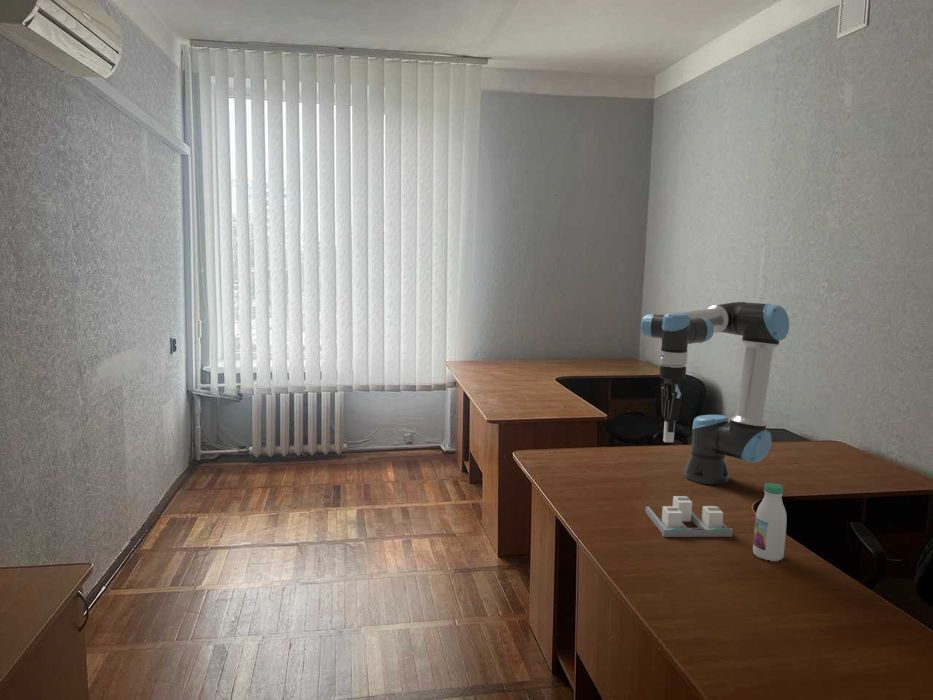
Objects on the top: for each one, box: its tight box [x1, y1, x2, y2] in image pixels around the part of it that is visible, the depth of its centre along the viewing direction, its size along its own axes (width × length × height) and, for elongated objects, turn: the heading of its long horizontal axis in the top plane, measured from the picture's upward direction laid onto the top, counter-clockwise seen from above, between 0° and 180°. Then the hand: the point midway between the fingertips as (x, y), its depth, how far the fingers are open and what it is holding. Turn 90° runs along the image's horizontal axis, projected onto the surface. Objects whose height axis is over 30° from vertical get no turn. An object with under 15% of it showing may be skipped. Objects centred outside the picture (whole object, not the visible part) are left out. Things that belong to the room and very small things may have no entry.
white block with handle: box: [661, 505, 683, 529], centre depth 194 cm, size 4×5×7 cm
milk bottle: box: [752, 482, 788, 562], centre depth 181 cm, size 8×8×20 cm
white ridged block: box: [672, 495, 693, 523], centre depth 202 cm, size 4×5×7 cm
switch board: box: [645, 506, 734, 538], centre depth 199 cm, size 20×18×4 cm
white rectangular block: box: [701, 505, 724, 528], centre depth 195 cm, size 4×5×7 cm
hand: (668, 441), depth 203 cm, fingers closed
